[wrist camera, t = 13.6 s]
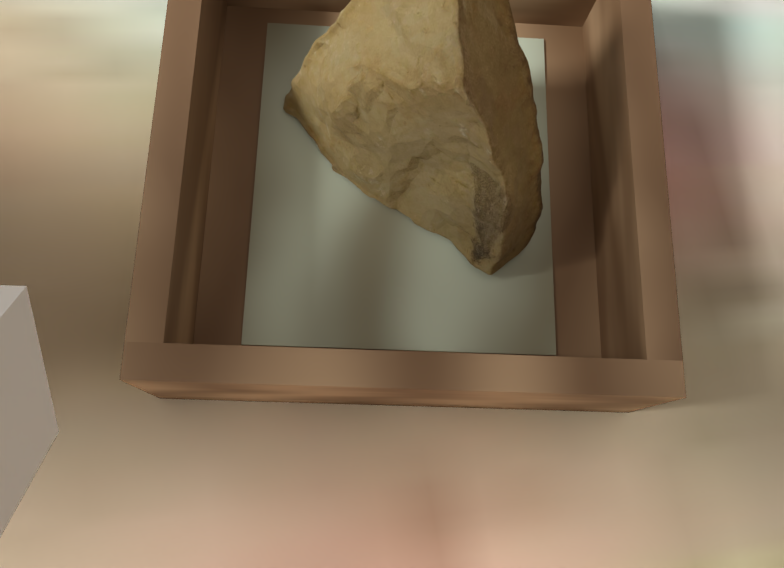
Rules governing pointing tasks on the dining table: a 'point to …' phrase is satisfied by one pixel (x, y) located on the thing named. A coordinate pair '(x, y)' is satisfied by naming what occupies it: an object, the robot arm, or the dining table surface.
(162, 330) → the crate
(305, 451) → the dining table surface
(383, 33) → the rock
